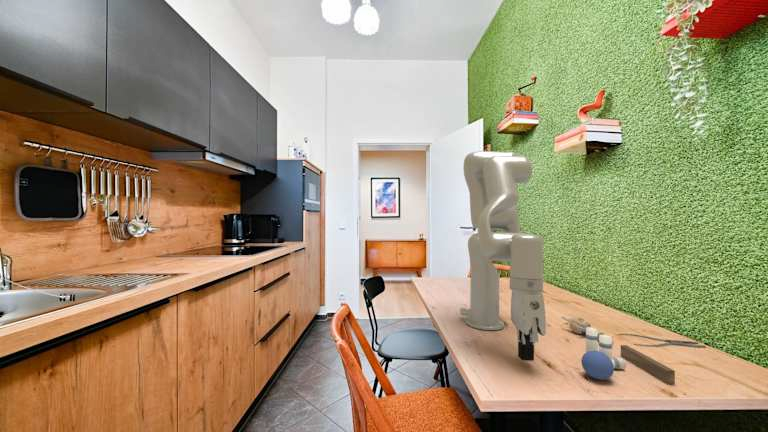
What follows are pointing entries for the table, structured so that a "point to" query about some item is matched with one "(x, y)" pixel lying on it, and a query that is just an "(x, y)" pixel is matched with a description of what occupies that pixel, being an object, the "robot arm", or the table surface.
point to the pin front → (618, 363)
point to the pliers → (671, 342)
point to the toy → (579, 325)
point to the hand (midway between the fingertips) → (526, 358)
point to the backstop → (648, 364)
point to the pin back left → (591, 339)
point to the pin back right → (605, 345)
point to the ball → (597, 365)
